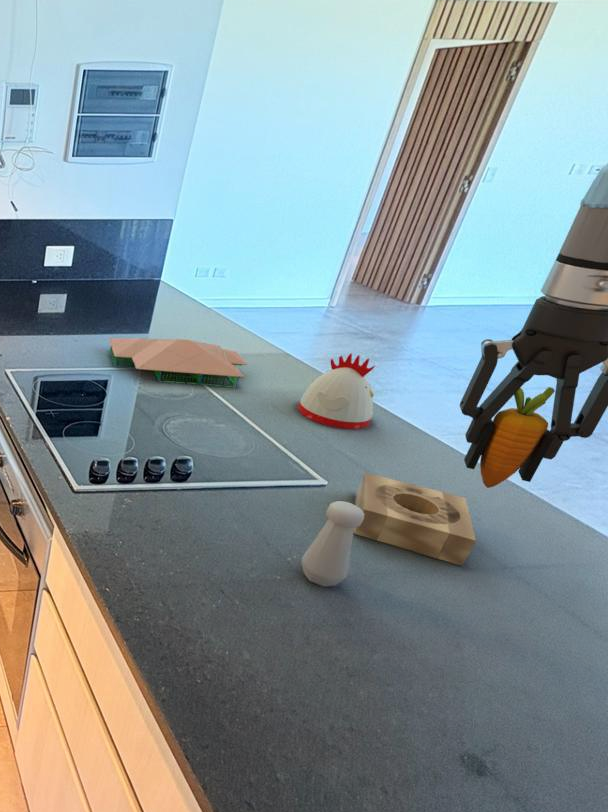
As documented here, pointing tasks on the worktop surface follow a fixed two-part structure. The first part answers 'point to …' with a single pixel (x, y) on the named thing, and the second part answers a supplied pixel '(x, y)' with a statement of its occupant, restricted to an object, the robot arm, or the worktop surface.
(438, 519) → the holder
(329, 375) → the kitchen timer
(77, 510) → the worktop surface
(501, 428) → the carrot
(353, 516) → the salt shaker
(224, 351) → the house
